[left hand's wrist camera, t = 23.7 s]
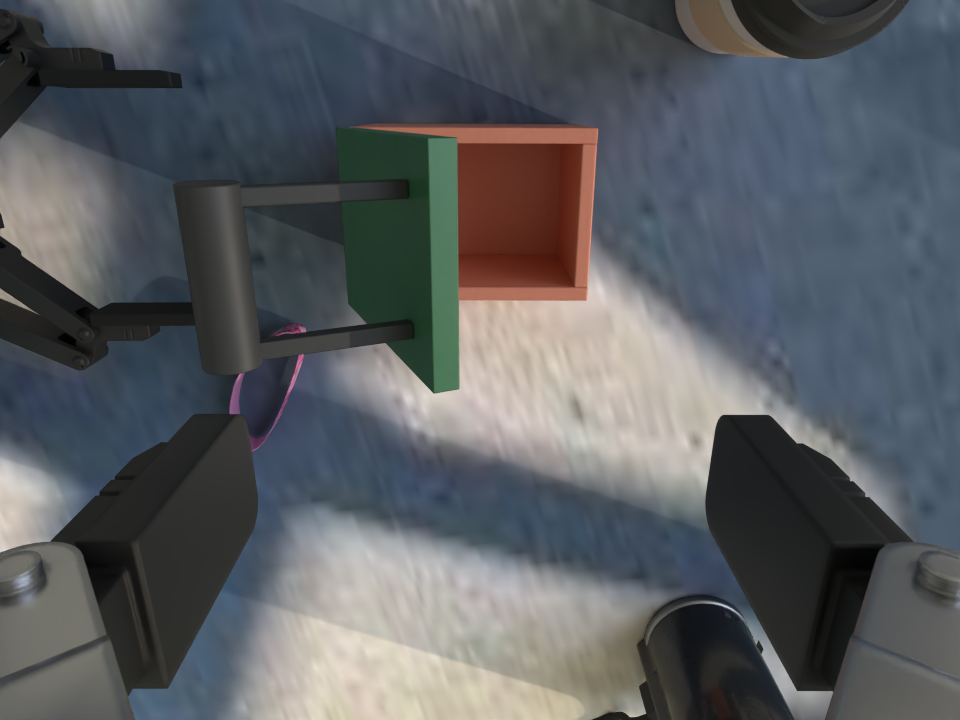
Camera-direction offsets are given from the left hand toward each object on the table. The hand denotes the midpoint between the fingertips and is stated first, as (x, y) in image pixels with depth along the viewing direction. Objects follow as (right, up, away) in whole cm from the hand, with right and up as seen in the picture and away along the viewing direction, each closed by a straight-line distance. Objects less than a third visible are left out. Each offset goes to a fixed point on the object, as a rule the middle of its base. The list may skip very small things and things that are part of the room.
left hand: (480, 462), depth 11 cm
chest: (0, +13, +35) cm, 38 cm away
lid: (-4, +7, +19) cm, 21 cm away
